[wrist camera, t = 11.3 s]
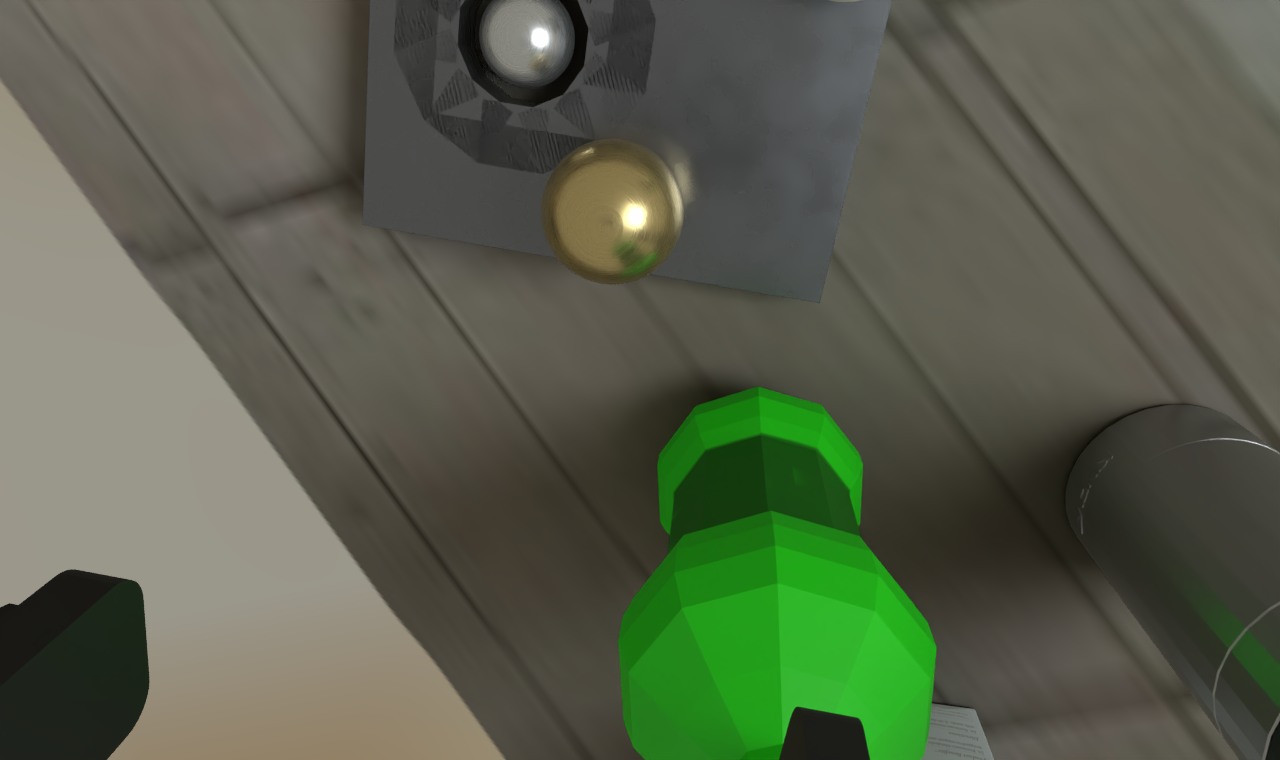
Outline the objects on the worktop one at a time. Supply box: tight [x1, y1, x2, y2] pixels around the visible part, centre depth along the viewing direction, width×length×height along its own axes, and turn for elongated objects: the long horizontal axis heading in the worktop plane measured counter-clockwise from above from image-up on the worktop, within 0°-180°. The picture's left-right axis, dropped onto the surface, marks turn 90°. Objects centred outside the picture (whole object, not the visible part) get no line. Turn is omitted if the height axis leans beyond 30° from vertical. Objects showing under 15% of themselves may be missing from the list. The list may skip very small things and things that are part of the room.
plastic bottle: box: [618, 387, 937, 760], centre depth 32 cm, size 10×11×25 cm
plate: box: [363, 0, 892, 303], centre depth 37 cm, size 21×18×2 cm
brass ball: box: [541, 139, 684, 284], centre depth 35 cm, size 6×6×6 cm
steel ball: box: [479, 0, 575, 88], centre depth 36 cm, size 4×4×4 cm
